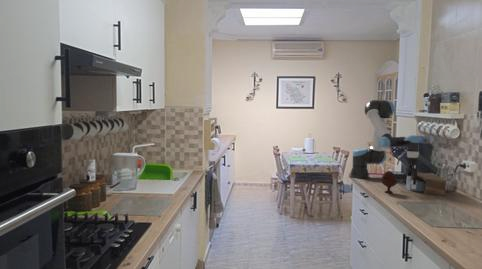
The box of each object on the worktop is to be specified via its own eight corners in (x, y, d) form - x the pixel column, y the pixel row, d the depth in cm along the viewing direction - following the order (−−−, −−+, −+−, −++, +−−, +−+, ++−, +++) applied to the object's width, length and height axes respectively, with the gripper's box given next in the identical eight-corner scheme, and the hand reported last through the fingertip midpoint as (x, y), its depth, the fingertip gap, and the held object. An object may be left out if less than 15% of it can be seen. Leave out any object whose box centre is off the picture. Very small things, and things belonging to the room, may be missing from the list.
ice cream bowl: (400, 194, 249) (401, 172, 248) (383, 194, 249) (384, 172, 248) (393, 191, 259) (394, 169, 258) (377, 190, 260) (378, 169, 259)
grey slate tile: (406, 187, 271) (406, 180, 271) (432, 189, 268) (433, 182, 268) (409, 190, 261) (410, 183, 261) (437, 192, 258) (438, 184, 258)
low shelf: (415, 186, 277) (415, 172, 277) (432, 186, 275) (433, 173, 274) (425, 194, 252) (426, 179, 251) (445, 194, 250) (445, 180, 249)
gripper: (423, 159, 251) (422, 191, 253) (413, 155, 276) (412, 183, 277) (411, 159, 252) (410, 190, 254) (402, 154, 277) (401, 183, 279)
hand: (411, 187), depth 266 cm, fingers open, 13 cm apart
